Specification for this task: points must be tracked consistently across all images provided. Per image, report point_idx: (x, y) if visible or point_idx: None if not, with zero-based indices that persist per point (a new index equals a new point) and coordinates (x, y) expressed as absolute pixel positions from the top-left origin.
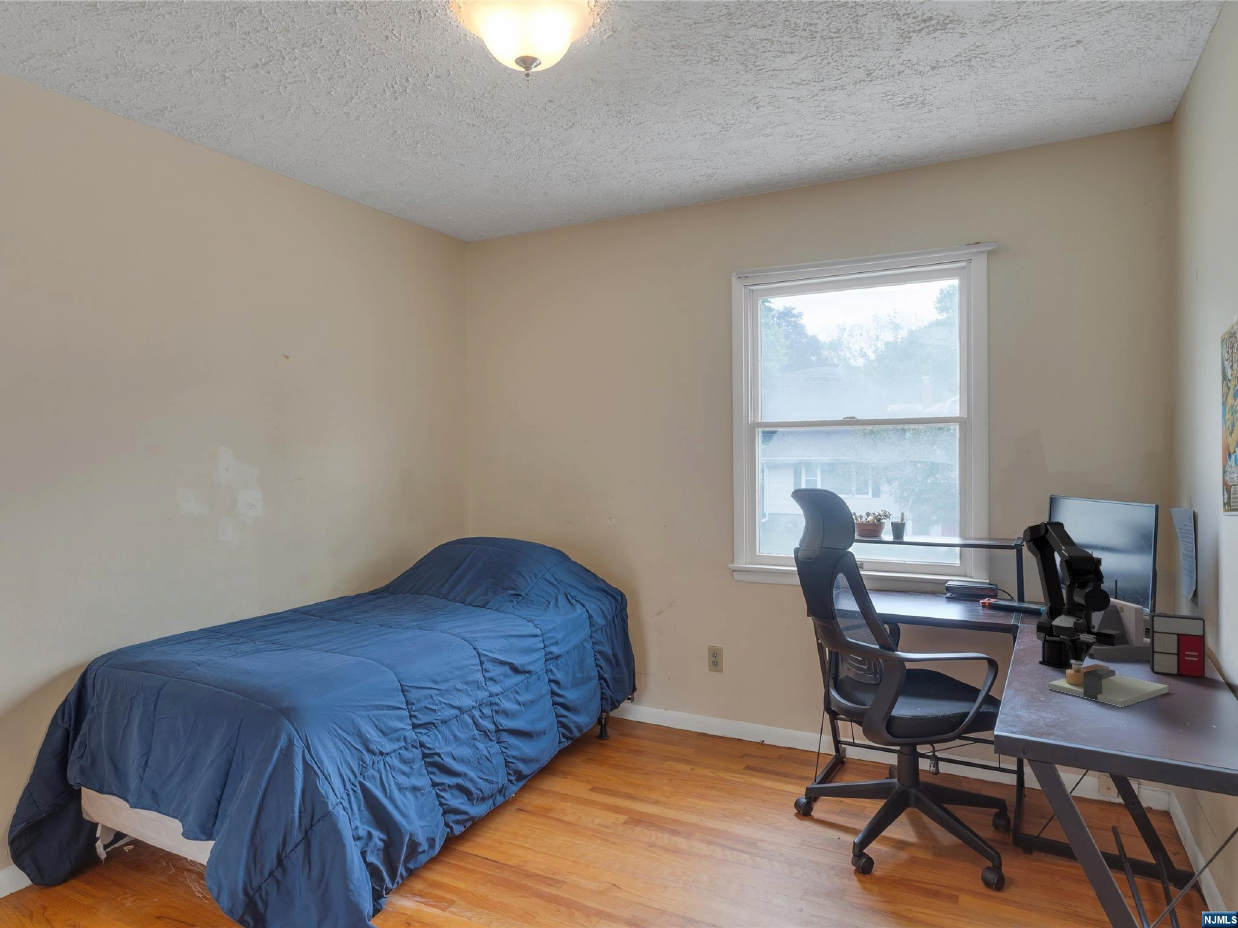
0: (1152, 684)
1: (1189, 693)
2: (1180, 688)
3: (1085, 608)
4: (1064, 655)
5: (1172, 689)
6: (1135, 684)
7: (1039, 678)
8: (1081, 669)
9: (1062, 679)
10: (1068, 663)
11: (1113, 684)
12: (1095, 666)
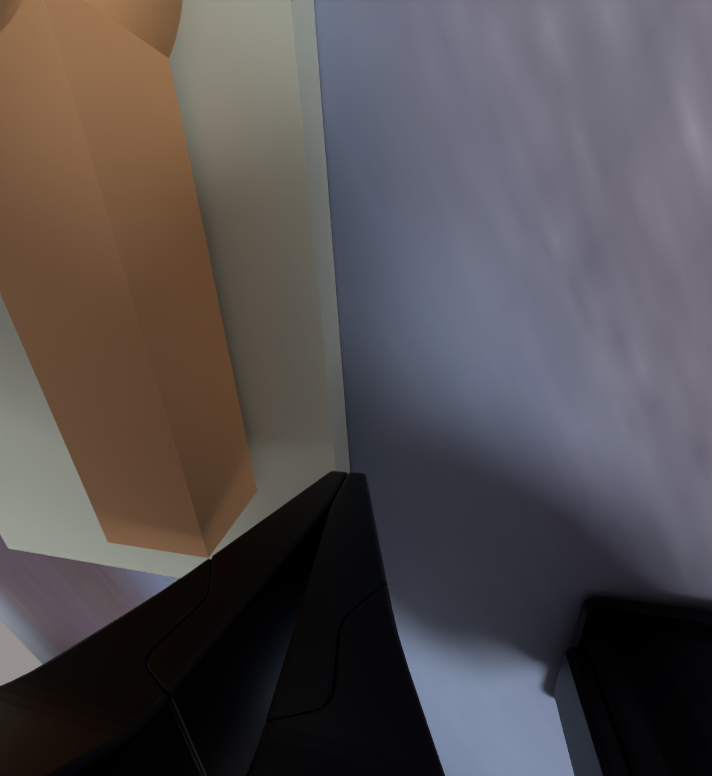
0: (31, 517)
1: (22, 561)
2: (83, 605)
3: None
4: (632, 741)
5: (75, 573)
6: (36, 450)
7: (618, 62)
8: (39, 137)
9: None
10: (571, 664)
11: None
12: (131, 452)
